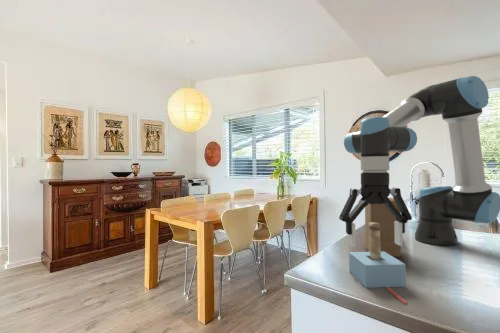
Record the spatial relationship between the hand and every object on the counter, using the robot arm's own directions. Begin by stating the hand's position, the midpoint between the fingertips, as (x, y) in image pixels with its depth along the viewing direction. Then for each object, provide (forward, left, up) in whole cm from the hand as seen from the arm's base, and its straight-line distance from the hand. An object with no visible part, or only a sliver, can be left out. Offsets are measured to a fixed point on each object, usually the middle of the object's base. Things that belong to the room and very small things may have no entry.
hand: (375, 245), depth 79 cm
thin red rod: (0, +10, -10) cm, 14 cm away
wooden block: (-14, -23, -10) cm, 29 cm away
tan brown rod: (0, 0, -10) cm, 10 cm away
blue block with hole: (0, 0, -10) cm, 10 cm away
